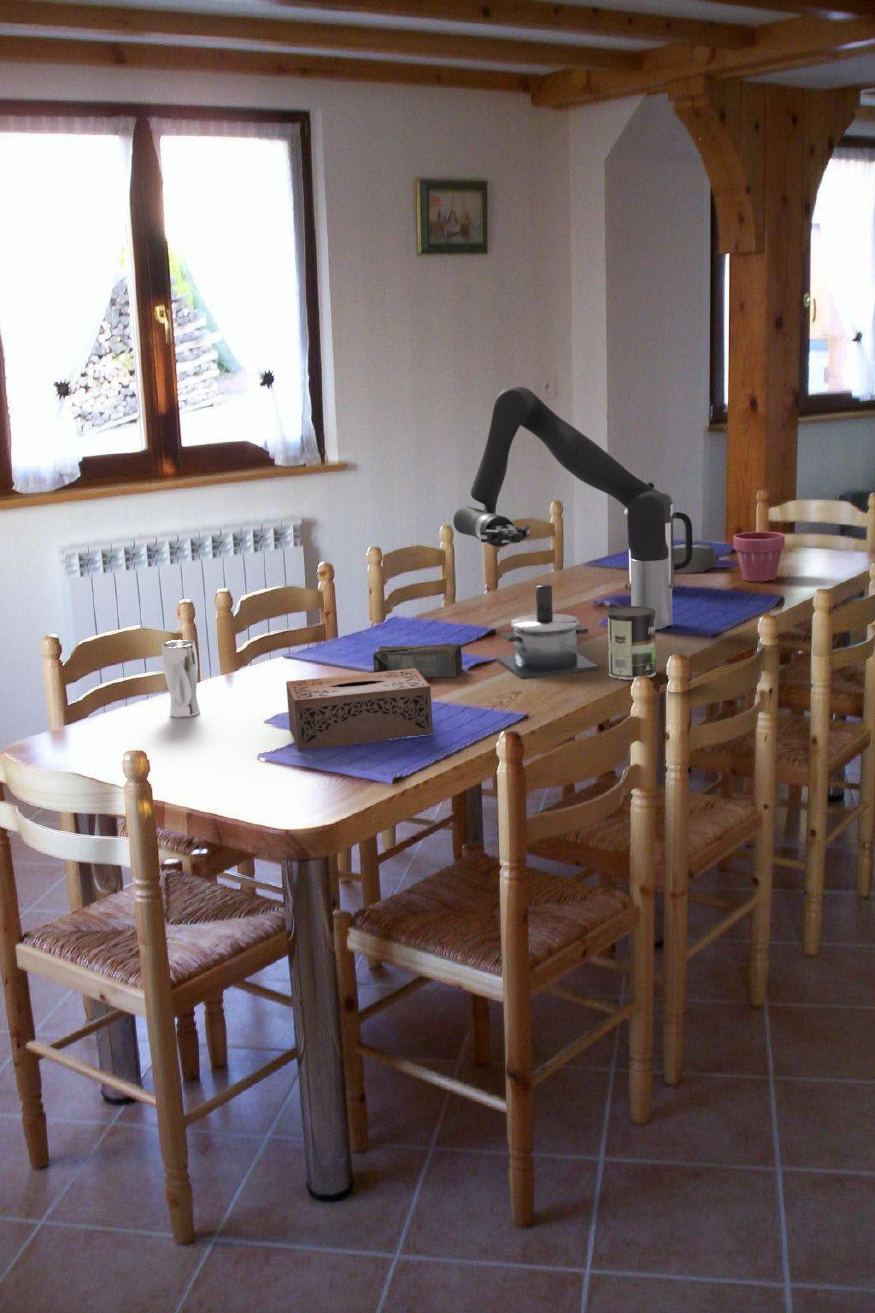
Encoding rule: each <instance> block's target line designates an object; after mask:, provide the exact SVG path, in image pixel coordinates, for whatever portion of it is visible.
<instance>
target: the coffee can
mask: <svg viewBox="0 0 875 1313" xmlns="http://www.w3.org/2000/svg"><path fill="white" fill-rule="evenodd" d="M606 616H607V638H608V639H607V640H608V676H609V677H611V678H612V679H615V678H618V679H617V680H621V679H623V680H622V681H634V680H633V679H634V678H636V677H637V676H647V677H649V678H648V679H651V678H653V677H655V676H656V675H657V671H656V670H657V669H656V667H657V665H656V664H657V663H656V662H657V660H656V630H655V610H654V609H652V608H649V607H642V606H631V605H630V606H629V605H627V606H619V607H613V608H610V609H608V610H607V611H606Z"/></svg>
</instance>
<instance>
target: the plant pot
mask: <svg viewBox="0 0 875 1313" xmlns="http://www.w3.org/2000/svg"><path fill="white" fill-rule="evenodd" d="M785 544H786V543H785V535H784V533H782V532H777V531H776V532H775V531H749V532H748V531H747V532H741V533H737V534H734V535H733V549H734V550H735V551H736V554H737V560H738V564H739V569H740V573H741V578H742V580H743V579H746V580H754V581H765V580H771V579H774V578H776V579H777V573H778V569H779V564H780V558H781V555H782V554H781V553H782V550H783V549H785Z"/></svg>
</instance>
